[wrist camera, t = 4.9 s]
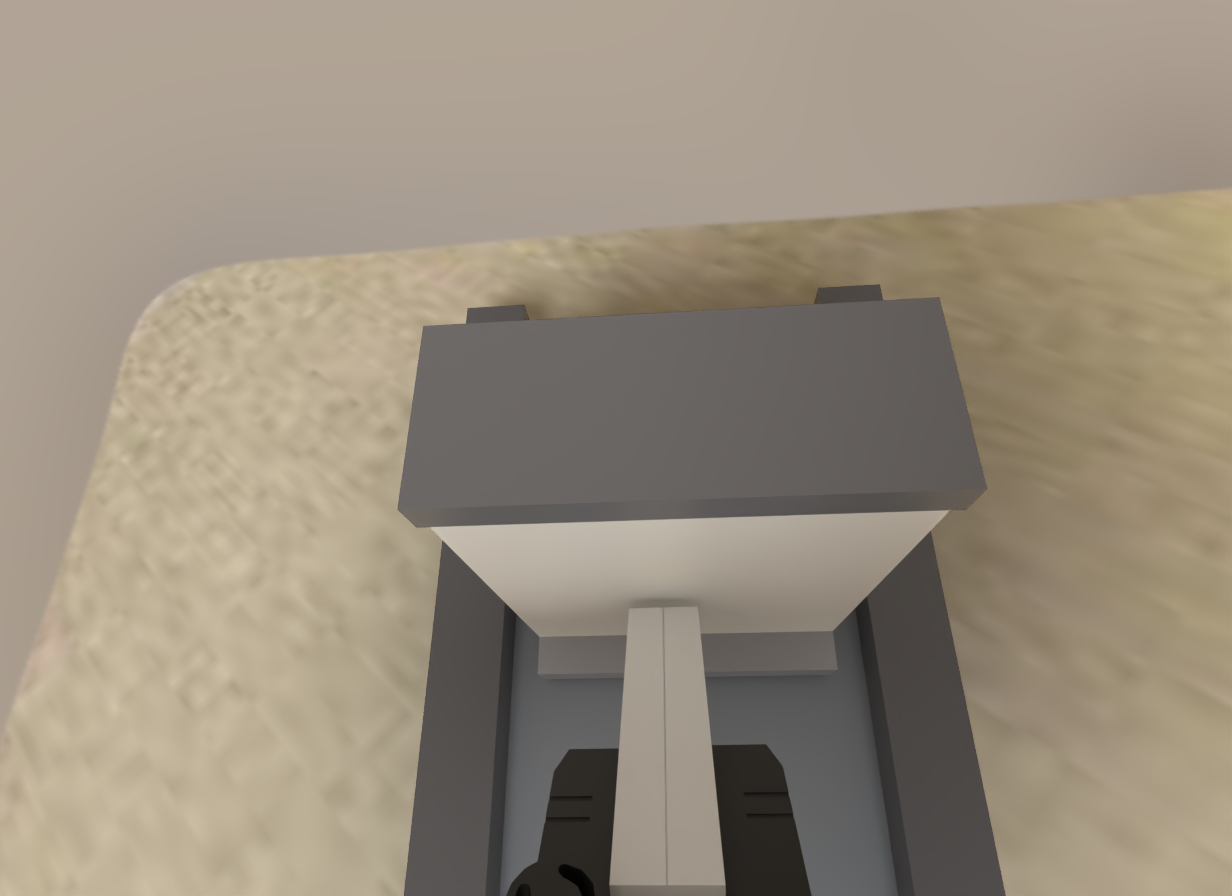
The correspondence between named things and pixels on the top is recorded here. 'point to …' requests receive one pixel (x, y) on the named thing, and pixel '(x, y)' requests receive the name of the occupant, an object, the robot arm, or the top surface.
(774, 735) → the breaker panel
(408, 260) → the top surface
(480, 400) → the handle
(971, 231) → the top surface
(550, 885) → the robot arm
